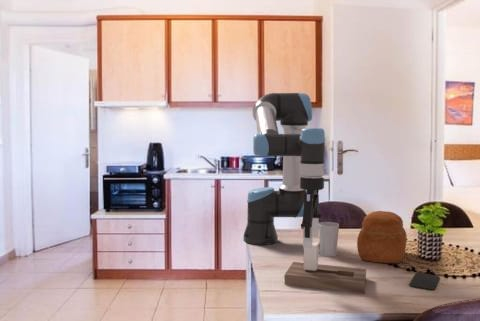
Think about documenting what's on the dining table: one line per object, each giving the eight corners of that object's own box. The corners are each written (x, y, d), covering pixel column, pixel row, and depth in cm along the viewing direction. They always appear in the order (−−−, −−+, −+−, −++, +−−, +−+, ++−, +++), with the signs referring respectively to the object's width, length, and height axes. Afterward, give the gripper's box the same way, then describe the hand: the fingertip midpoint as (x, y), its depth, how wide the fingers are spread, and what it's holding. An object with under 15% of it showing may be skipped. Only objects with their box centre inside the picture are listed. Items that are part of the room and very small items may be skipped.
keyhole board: (293, 270, 147) (293, 261, 146) (365, 278, 139) (366, 268, 139) (284, 284, 133) (284, 274, 133) (364, 293, 126) (364, 282, 126)
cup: (338, 257, 163) (339, 226, 162) (317, 256, 164) (318, 225, 164) (338, 252, 171) (338, 222, 170) (318, 250, 172) (318, 221, 171)
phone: (440, 276, 141) (434, 289, 128) (440, 278, 141) (434, 292, 128) (416, 272, 145) (408, 284, 132) (416, 274, 145) (408, 287, 132)
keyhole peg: (305, 277, 140) (306, 241, 140) (317, 278, 139) (318, 242, 138) (303, 281, 137) (304, 244, 136) (316, 282, 135) (316, 245, 135)
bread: (406, 251, 172) (407, 210, 171) (405, 266, 152) (406, 220, 151) (361, 247, 178) (362, 207, 177) (354, 261, 159) (355, 216, 158)
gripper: (318, 181, 123) (317, 253, 124) (328, 173, 146) (327, 233, 148) (292, 180, 125) (291, 251, 127) (306, 172, 149) (305, 232, 150)
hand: (311, 242), depth 137 cm, fingers open, 13 cm apart
